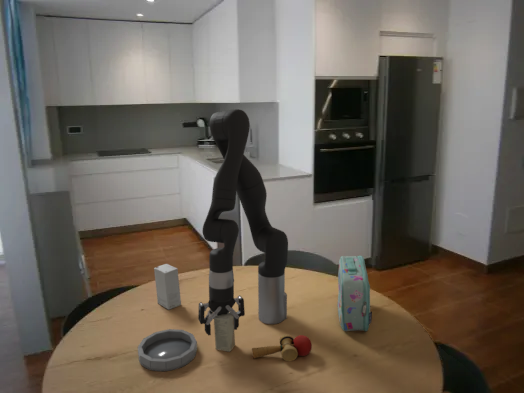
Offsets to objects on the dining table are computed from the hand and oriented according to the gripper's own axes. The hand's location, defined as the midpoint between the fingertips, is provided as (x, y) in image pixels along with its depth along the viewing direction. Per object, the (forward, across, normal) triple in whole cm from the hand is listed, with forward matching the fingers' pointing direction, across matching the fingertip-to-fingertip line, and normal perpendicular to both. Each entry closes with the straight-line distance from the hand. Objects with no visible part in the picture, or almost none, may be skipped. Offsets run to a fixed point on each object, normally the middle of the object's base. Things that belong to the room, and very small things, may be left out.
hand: (221, 331), depth 129 cm
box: (+6, -1, 0) cm, 6 cm away
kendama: (+5, -15, +12) cm, 20 cm away
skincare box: (+6, +10, -35) cm, 37 cm away
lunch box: (+5, -48, +2) cm, 48 cm away
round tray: (+6, +16, -3) cm, 17 cm away
